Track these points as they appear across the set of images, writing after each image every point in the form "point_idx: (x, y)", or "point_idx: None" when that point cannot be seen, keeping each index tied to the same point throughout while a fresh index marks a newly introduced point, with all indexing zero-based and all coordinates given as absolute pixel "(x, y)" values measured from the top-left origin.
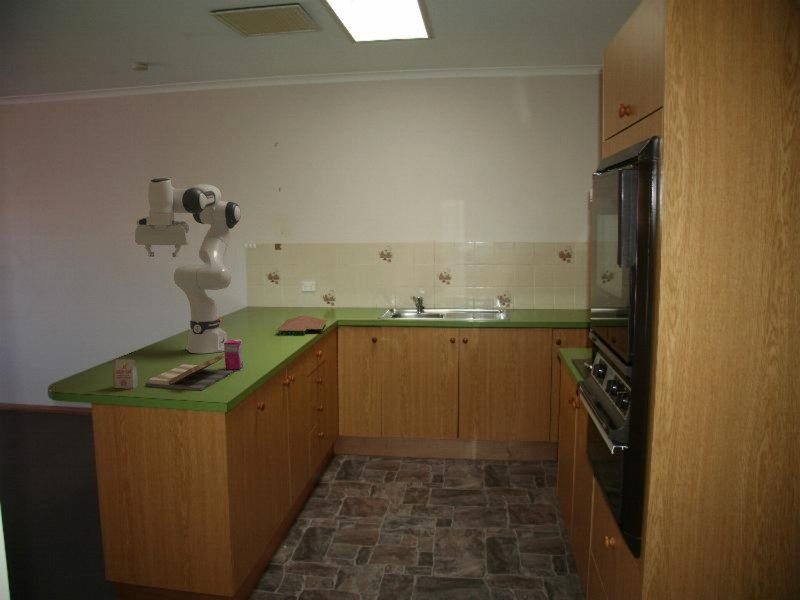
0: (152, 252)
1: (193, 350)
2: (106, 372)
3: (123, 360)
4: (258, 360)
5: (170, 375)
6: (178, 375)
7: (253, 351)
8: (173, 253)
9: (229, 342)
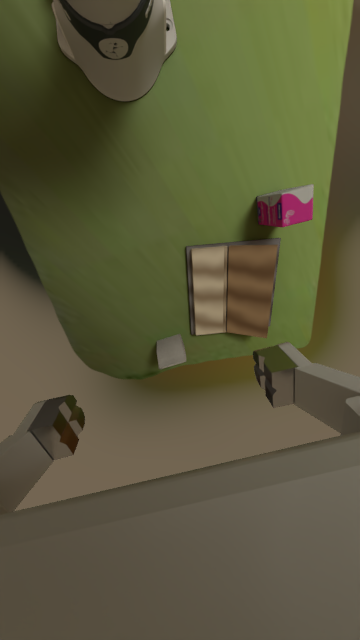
0: (70, 447)
1: (114, 94)
2: (83, 299)
3: (172, 365)
4: (293, 120)
5: (212, 312)
6: (243, 334)
7: (251, 5)
8: (280, 398)
9: (293, 221)
